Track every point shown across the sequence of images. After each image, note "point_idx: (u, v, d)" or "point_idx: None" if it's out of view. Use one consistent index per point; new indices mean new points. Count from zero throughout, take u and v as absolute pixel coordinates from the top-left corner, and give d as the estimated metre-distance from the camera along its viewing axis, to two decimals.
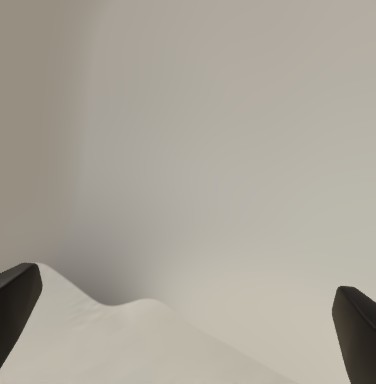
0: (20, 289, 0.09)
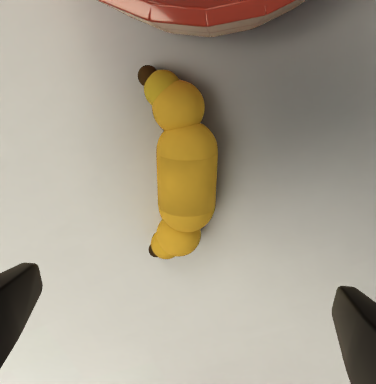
0: (20, 289, 0.09)
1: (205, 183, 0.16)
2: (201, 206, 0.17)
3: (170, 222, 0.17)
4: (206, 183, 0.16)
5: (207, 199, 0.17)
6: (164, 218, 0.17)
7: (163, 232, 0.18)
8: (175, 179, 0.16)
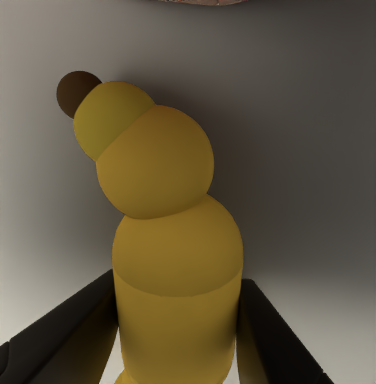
0: (115, 297, 0.08)
1: (224, 326, 0.07)
2: (216, 368, 0.08)
3: None
4: (226, 325, 0.08)
5: (226, 351, 0.08)
6: None
7: None
8: (160, 332, 0.07)
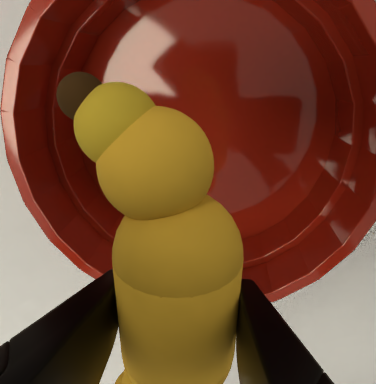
0: (115, 297, 0.08)
1: (225, 327, 0.07)
2: (216, 369, 0.08)
3: None
4: (226, 326, 0.08)
5: (227, 352, 0.08)
6: None
7: None
8: (160, 333, 0.07)
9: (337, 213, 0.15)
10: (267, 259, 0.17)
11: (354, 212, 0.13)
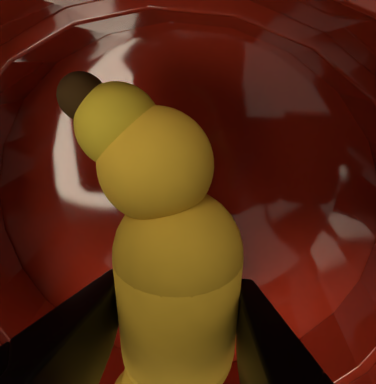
0: (115, 297, 0.08)
1: (225, 326, 0.07)
2: (216, 369, 0.08)
3: None
4: (227, 326, 0.08)
5: (227, 351, 0.08)
6: None
7: None
8: (160, 332, 0.07)
9: None
10: None
11: None
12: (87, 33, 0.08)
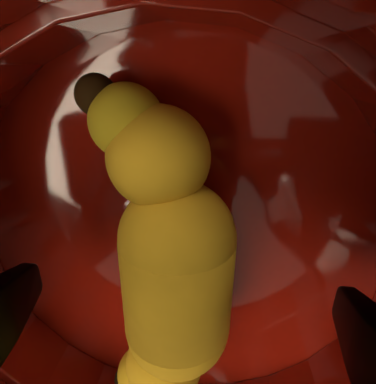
0: (20, 289, 0.09)
1: (214, 308, 0.08)
2: (206, 347, 0.09)
3: (147, 371, 0.09)
4: (216, 308, 0.08)
5: (217, 332, 0.09)
6: (136, 360, 0.09)
7: (136, 372, 0.10)
8: (154, 307, 0.08)
9: None
10: None
11: None
12: (74, 33, 0.07)
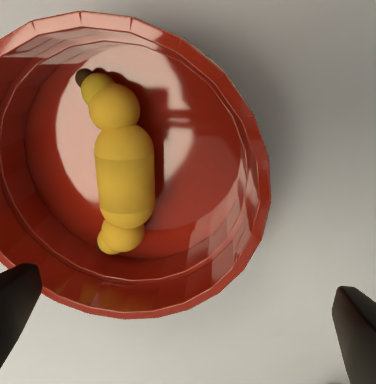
0: (20, 289, 0.09)
1: (138, 182, 0.17)
2: (136, 204, 0.17)
3: (108, 218, 0.18)
4: (139, 182, 0.17)
5: (141, 197, 0.17)
6: (103, 215, 0.18)
7: (105, 228, 0.19)
8: (108, 178, 0.17)
9: (238, 237, 0.18)
10: (188, 273, 0.20)
11: (244, 238, 0.16)
12: (76, 50, 0.16)
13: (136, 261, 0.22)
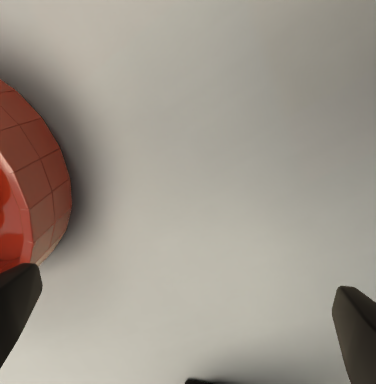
0: (20, 289, 0.09)
1: None
2: None
3: None
4: None
5: None
6: None
7: None
8: None
9: None
10: None
11: None
12: None
13: None
